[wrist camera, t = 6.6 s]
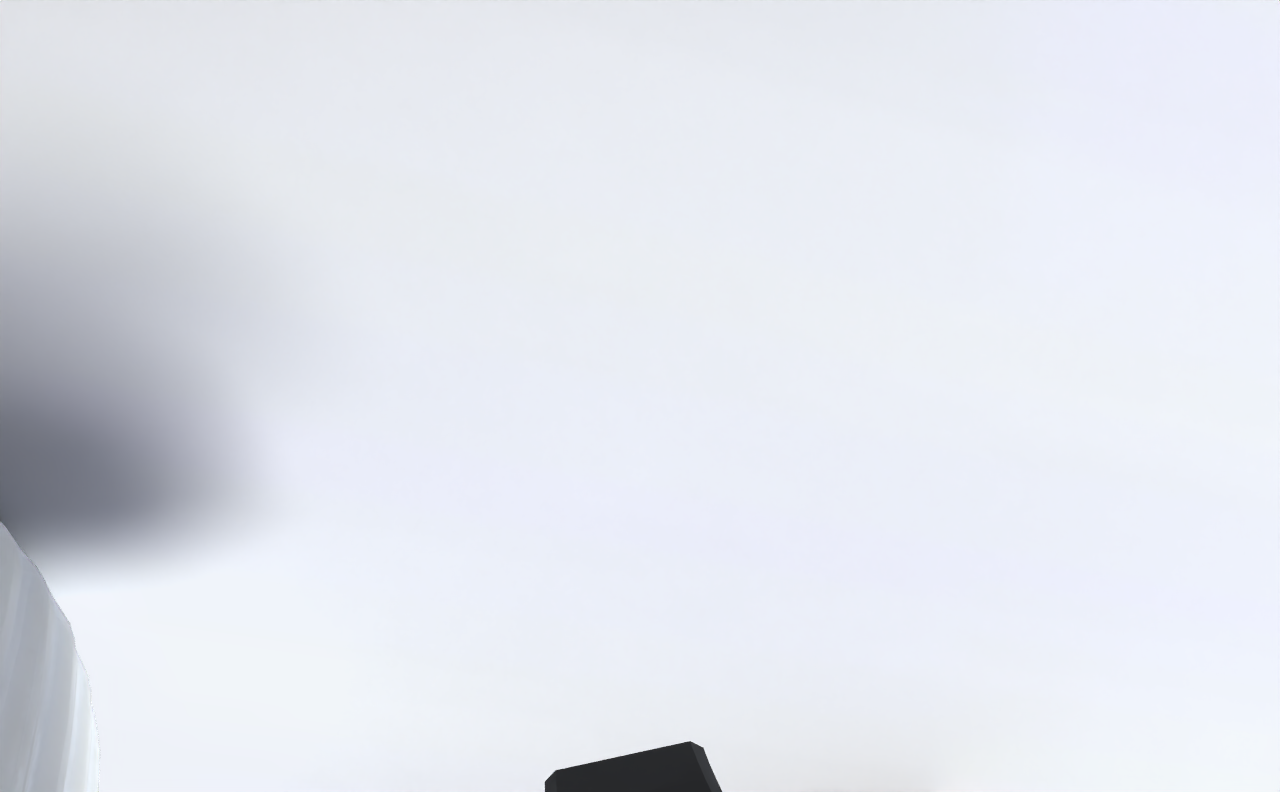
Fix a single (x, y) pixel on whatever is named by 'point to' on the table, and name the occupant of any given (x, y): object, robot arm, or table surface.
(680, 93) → the table surface
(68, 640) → the ramekin
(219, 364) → the table surface
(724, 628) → the table surface
